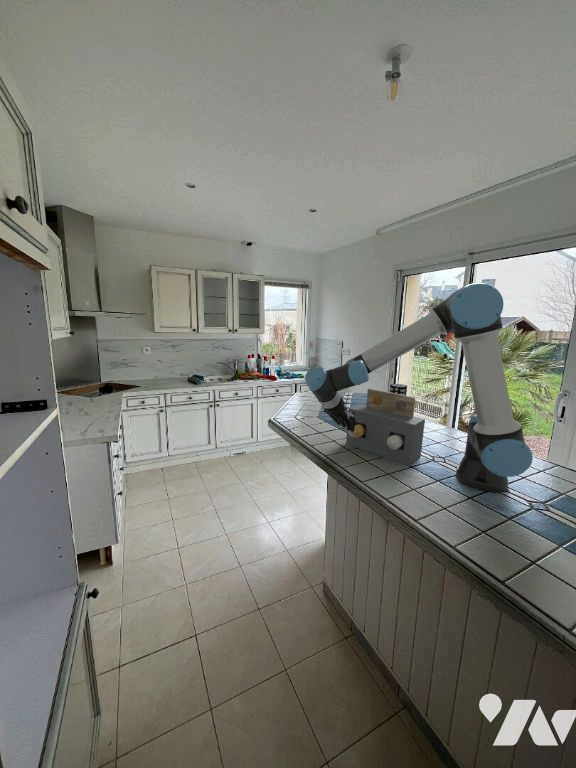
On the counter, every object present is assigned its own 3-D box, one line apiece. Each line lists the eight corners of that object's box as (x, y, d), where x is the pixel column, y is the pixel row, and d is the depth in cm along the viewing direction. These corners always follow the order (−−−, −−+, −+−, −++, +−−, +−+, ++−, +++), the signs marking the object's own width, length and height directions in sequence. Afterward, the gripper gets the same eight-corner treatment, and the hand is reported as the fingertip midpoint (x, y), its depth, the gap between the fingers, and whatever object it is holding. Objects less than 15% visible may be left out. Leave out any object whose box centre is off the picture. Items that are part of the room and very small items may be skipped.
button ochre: (360, 439, 126) (361, 427, 125) (350, 435, 129) (350, 424, 128) (365, 437, 128) (366, 425, 127) (354, 433, 132) (355, 422, 131)
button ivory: (398, 451, 115) (400, 438, 114) (386, 447, 118) (387, 434, 117) (402, 448, 118) (404, 436, 117) (390, 444, 121) (391, 432, 120)
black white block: (404, 421, 167) (408, 385, 163) (401, 426, 160) (405, 387, 156) (389, 418, 171) (392, 383, 167) (384, 422, 164) (388, 385, 160)
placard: (411, 418, 120) (414, 398, 119) (365, 407, 134) (367, 388, 132) (413, 417, 121) (415, 397, 120) (367, 406, 135) (368, 388, 133)
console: (409, 465, 116) (414, 424, 113) (346, 443, 135) (348, 408, 132) (420, 457, 123) (425, 419, 120) (358, 438, 142) (361, 404, 139)
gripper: (311, 405, 114) (335, 437, 129) (342, 413, 105) (363, 446, 120) (321, 389, 117) (343, 422, 132) (351, 395, 108) (371, 430, 123)
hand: (353, 433), depth 126 cm, fingers closed
